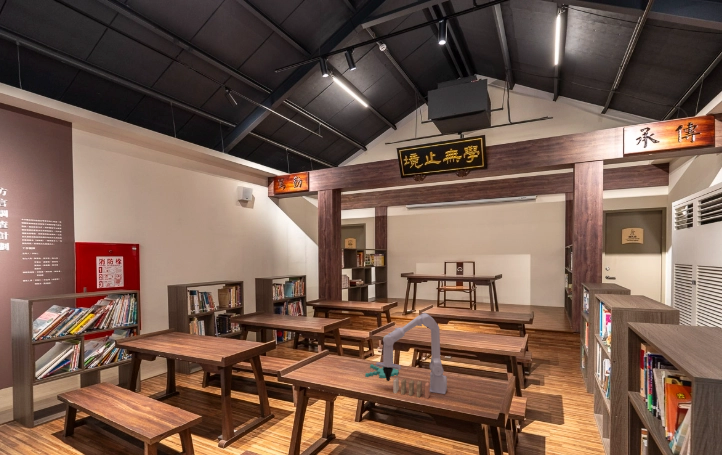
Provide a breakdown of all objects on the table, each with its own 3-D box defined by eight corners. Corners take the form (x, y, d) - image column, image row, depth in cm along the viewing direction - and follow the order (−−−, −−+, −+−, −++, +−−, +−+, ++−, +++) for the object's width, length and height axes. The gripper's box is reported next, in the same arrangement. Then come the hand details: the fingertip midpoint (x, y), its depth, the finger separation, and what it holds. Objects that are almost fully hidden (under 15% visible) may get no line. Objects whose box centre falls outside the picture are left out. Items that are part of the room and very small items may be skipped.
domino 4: (429, 395, 200) (429, 382, 200) (427, 398, 195) (427, 385, 196) (426, 394, 200) (426, 382, 201) (424, 398, 196) (424, 385, 196)
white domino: (398, 390, 207) (398, 377, 207) (396, 393, 202) (396, 380, 202) (395, 389, 207) (395, 377, 208) (393, 393, 203) (393, 380, 203)
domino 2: (413, 392, 203) (413, 380, 204) (411, 396, 198) (411, 383, 199) (411, 392, 204) (411, 379, 204) (408, 395, 199) (408, 382, 200)
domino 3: (421, 394, 201) (421, 381, 202) (419, 397, 197) (419, 384, 197) (418, 393, 202) (418, 380, 202) (416, 396, 197) (416, 383, 198)
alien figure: (365, 377, 228) (396, 380, 224) (365, 374, 228) (396, 376, 224) (370, 367, 248) (399, 369, 244) (370, 364, 248) (399, 366, 244)
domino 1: (406, 391, 205) (406, 379, 205) (403, 394, 200) (403, 382, 201) (403, 391, 205) (403, 378, 206) (401, 394, 201) (401, 381, 201)
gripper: (402, 356, 209) (402, 379, 208) (378, 353, 214) (378, 376, 213) (398, 359, 202) (398, 384, 201) (374, 356, 208) (374, 380, 207)
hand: (388, 380), depth 207 cm, fingers closed
